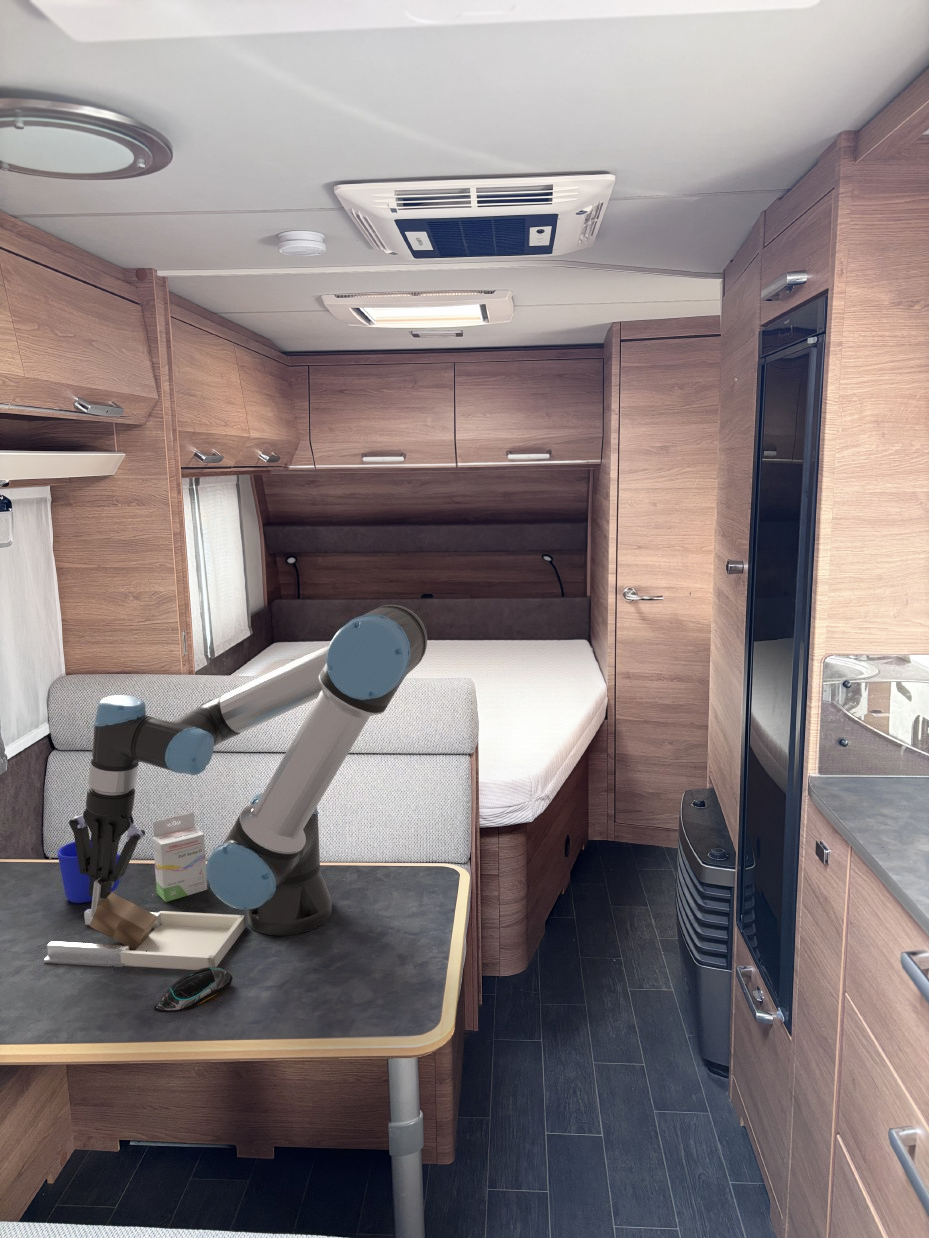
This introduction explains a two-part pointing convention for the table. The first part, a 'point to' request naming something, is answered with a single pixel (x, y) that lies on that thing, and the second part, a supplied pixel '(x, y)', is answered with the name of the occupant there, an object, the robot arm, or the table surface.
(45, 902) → the table surface
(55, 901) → the table surface
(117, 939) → the tan cardboard cube
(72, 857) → the mug
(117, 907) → the brown shipping carton
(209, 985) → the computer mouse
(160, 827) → the ink box
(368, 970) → the table surface
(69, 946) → the slot rails
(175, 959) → the tray
